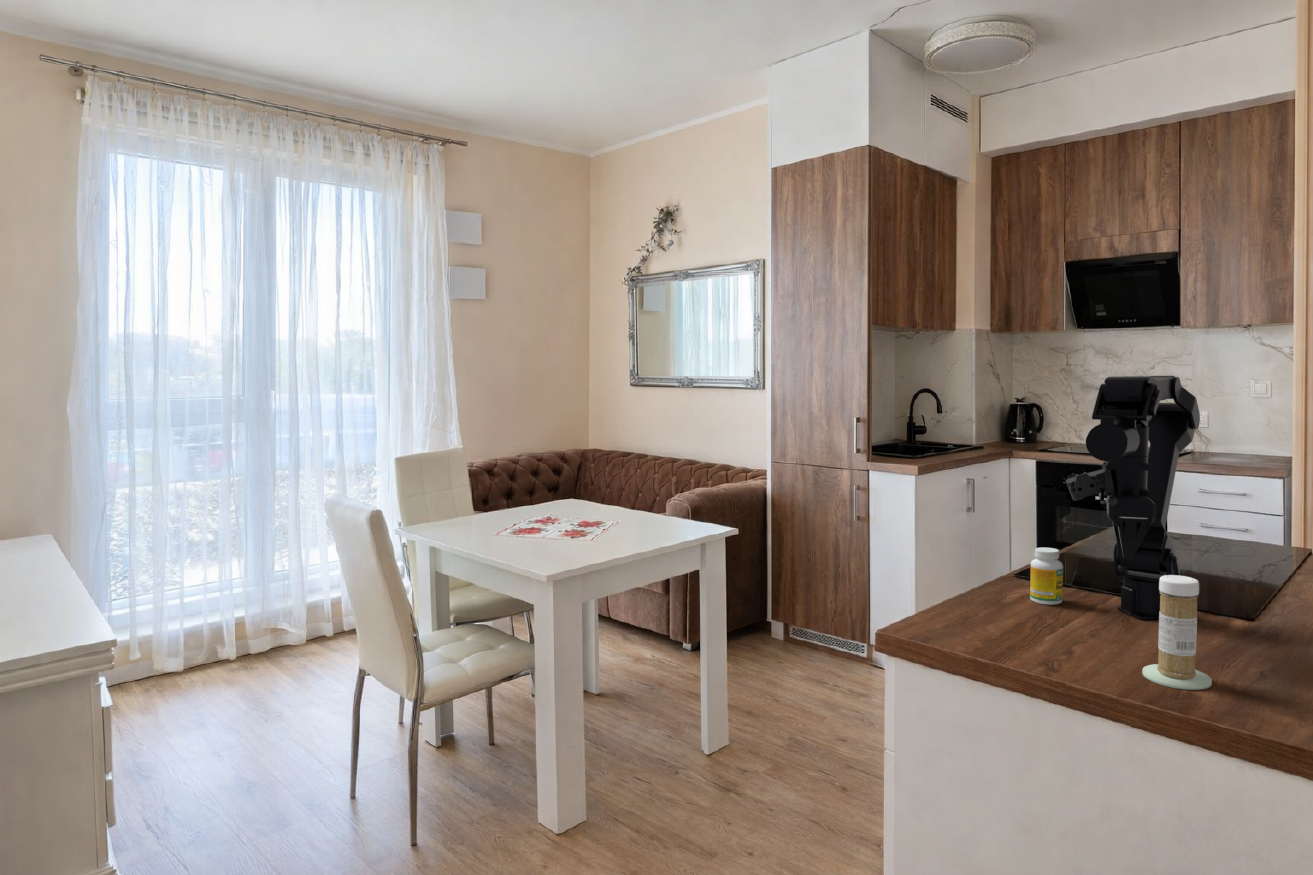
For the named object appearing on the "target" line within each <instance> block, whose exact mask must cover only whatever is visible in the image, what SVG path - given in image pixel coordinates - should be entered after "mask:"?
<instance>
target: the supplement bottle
mask: <svg viewBox="0 0 1313 875" xmlns="http://www.w3.org/2000/svg"><path fill="white" fill-rule="evenodd" d="M1034 549H1035V550H1034V557H1035V558H1034V559H1032V560H1031V562H1030V581H1029V582H1030V585H1029V586H1030V588H1029V589H1030V591H1029V598H1030V601H1032V602H1035V603H1037V604H1040V605H1047V606H1048V605H1051V606H1053V605H1054V606H1055V605H1059V604H1062V602H1063V595H1064V594H1063V593H1064V592H1063V590H1064V588H1063V582H1064V566H1063V562H1061V561H1060V560H1058V559H1059V558H1060V549H1058V548H1053V547H1042V546H1041V547H1036V548H1034Z"/></svg>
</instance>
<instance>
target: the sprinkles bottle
mask: <svg viewBox="0 0 1313 875" xmlns="http://www.w3.org/2000/svg"><path fill="white" fill-rule="evenodd" d="M1159 590H1160V594H1161V596H1160V612H1159V619H1158V643H1157V644H1158V646H1157V647H1158V663H1157V664H1158V667H1157V670H1158V671H1159V672H1160V673H1161V674H1163V675H1166V676H1169V677H1172V678H1178V679H1190V678H1194V677H1195V676H1196V672H1195V670H1196V654H1197V637H1198V636H1197V631H1198V630H1197V628H1198V597H1199V594H1200V582H1199V580H1198V579H1196V578H1193V577H1190V576H1187V575H1180V576H1179V575H1165V576H1162V577H1160V580H1159Z"/></svg>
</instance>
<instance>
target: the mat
mask: <svg viewBox="0 0 1313 875" xmlns="http://www.w3.org/2000/svg"><path fill="white" fill-rule="evenodd" d="M1157 667H1158V663H1157V664H1156V663H1155V664H1148V665H1145V666H1143V668H1142V672H1141V673H1142V676H1143V677H1144V678H1145V679H1147V680H1149V681H1150V682H1152V683H1154V684H1158V685H1160V686H1164V687H1167V688H1168V687H1169V688H1172V689H1178V690H1186V691H1187V690H1188V691H1200V690H1206V689H1209V688H1210V687H1211V686H1213V685H1212V684H1213V683H1212V682H1213V679H1212V677H1211V676H1209V675H1208V674H1206V673H1205V672H1203V671H1200V670H1197V669H1195V672H1196V676H1195V677H1194V678H1190V679H1178V678H1172V677H1169V676H1166V675H1163V674H1161V673H1160V672H1159V671H1158V670H1157Z"/></svg>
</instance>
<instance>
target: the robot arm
mask: <svg viewBox="0 0 1313 875" xmlns="http://www.w3.org/2000/svg"><path fill="white" fill-rule="evenodd" d="M1103 382H1104V383H1101V384H1100V386H1099V389H1098V392H1097V397H1096V400H1095V403H1094V407H1093V409H1092V410H1093V411H1092V415H1091V419H1092V420H1094V421H1095V420H1096V421H1097V420H1099V421H1100V423H1099V424H1097V425H1095V426H1094V427H1092V428H1091V429H1090V430H1089V432H1088V433H1087V436H1086V437H1085V446H1086V450H1087V451H1088V453H1089V454H1090V456H1092V457H1093V458H1095V459H1097V460H1099V461H1102V469H1098V470H1093V471H1091V472H1087V471H1084V472H1083V473H1081V474H1075V476H1072V477H1069V478H1067V479H1065V483H1066V485H1067V486H1066V487H1067V488H1068V491H1069V493H1070V495H1071V496H1070V497H1071V498H1072V500H1073V501H1074V502H1077V501H1081V500H1083V499H1084V498H1086V497H1091V496H1094V495H1098V499H1099V500H1100V505H1101V506H1102V507H1103V508H1104V509H1105V510H1106V515H1107V517H1108V519H1109V520H1110V521H1112V527H1113V532H1114V535H1115V536H1114V537H1115V541H1116V543H1115V544H1114V547H1113V563H1114V573H1115V578H1123V584H1122V586H1121V588H1120V605H1117V606H1116V609H1117V610H1118V611H1121V612H1124V613H1125V614H1128V615H1129V616H1131V617H1132V616H1133V617H1134V618H1137V619H1139V620H1154V619H1155V620H1157V619H1158V620H1159V612H1160V596H1161V594H1160V590H1159V580H1160V577H1162V576H1165V575H1179V576H1181V570H1180V565H1179V560H1178V559H1179V558H1178V557H1177V555H1176V552H1175V550H1174V544H1173V541H1172V540H1171V538H1170V536H1169V533H1168V532H1167V530H1166V525H1167V521H1168V520H1167V519H1168V515H1169V509H1170V503H1171V497H1172V493H1173V487H1174V482H1175V477H1176V472H1177V466H1178V461H1179V455H1180V453H1181V452H1182V451H1184V450H1185V449H1186V447H1188V446H1189V445H1190V444H1191V443H1193V440H1194V435H1195V431H1196V430H1198V429H1199V427H1200V422H1201V414H1200V409H1199V404H1198V401H1197V397H1196V396H1195V395H1193V394H1192V393H1191V392H1189V391H1188V390H1187V389H1186V388H1185V387H1183V386H1182V383H1181V379H1180V377H1179V376H1175V375H1146V376H1145V375H1144V376H1143V375H1142V376H1140V375H1138V376H1137V375H1135V376H1134V375H1133V376H1132V375H1131V376H1129V375H1128V376H1125V375H1124V376H1108V377H1106V378H1105V380H1104V381H1103ZM1165 400H1173V401H1174V402H1161V401H1165Z"/></svg>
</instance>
